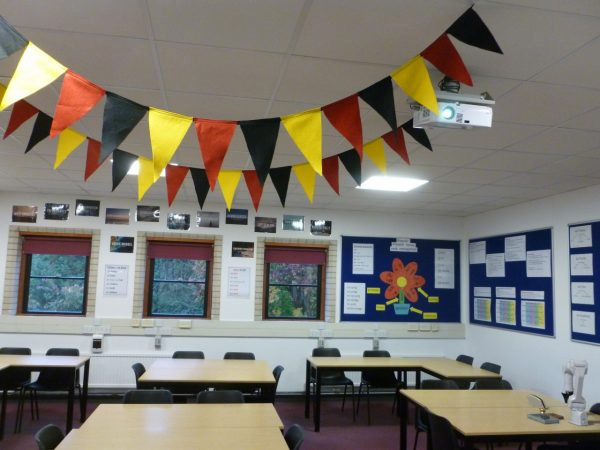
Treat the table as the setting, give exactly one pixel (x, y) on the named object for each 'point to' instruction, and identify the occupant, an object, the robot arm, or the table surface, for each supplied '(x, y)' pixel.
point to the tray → (548, 419)
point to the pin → (542, 413)
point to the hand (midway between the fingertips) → (569, 402)
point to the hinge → (536, 401)
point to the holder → (555, 416)
